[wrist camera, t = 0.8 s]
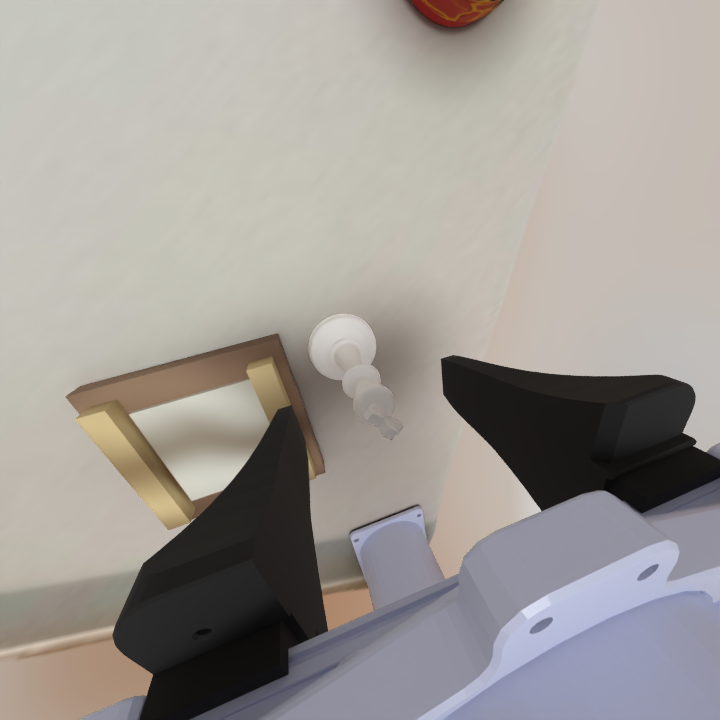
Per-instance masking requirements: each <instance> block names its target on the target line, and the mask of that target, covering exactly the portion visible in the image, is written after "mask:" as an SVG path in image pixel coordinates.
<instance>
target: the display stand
mask: <svg viewBox="0 0 720 720" xmlns="http://www.w3.org/2000/svg"><path fill="white" fill-rule="evenodd" d="M66 398H67V399H68V401H69V402H70V403H71V404H72V405H73V407H74V408H75V409H76V410H77V411H78V413H79V414H80V415H79V416H78V417H77V418H76V419H75V420H76V422H77V423H78V424H79V425H80V426H81V427H82V429H83V430H84V431H85V432H86V433H87V435H88V436H89V437H90V438H91V439H92V440H93V442H94V443H95V444H96V445H97V446H98V448H99V449H100V450H101V451H102V452H103V453H104V455H105V456H106V457H107V458H108V459H109V460H110V462H111V463H112V464H113V465H114V466H115V468H116V469H117V470H118V471H119V472H120V473H121V475H122V476H123V477H124V478H125V479H126V481H127V482H128V483H129V484H130V485H131V486H132V488H133V489H134V490H135V491H136V492H137V493H138V495H139V496H140V497H141V498H142V499H143V501H144V502H145V503H146V504H147V505H148V506H149V508H150V509H151V510H152V511H153V512H154V514H155V515H156V516H157V517H158V518H159V519H160V521H161V522H162V523H163V524H164V525H165V526H166V528H167V529H168V530H170V529H173V528H176V527H179V526H182V525H184V524H187V523H190V522H191V520H192V519H194V518H197V517H198V516H199V515H200V514H201V513H202V512H203V511H204V510H205V509H206V508H207V507H208V506H209V505H210V504H211V503H212V502H213V501H214V500H215V499H216V498H217V497H218V495H219V494H220V493H221V492H222V491H223V490H224V489H225V488H226V487H227V486H228V485H229V483H230V482H231V481H232V480H233V479H234V477H235V476H236V475H237V474H238V472H239V471H240V470H241V469H242V467H243V466H244V465H245V463H246V462H247V461H248V459H249V458H250V456H251V455H252V453H253V452H254V450H255V449H256V447H257V445H258V444H259V442H260V441H261V439H262V437H263V435H264V434H265V432H266V430H267V428H268V426H269V425H270V423H271V421H272V419H273V417H274V415H275V413H276V412H277V410H278V409H281V408H284V407H287V406H290V405H292V407H293V410H294V413H295V415H296V418H297V420H298V423H299V426H300V428H301V431H302V433H303V436H304V439H305V443H306V448H307V455H308V462H309V480H312V479H314V478H316V475H319V474H322V473H325V467H324V461H323V458H322V456H321V453H320V450H319V447H318V444H317V442H316V439H315V436H314V433H313V430H312V428H311V425H310V422H309V419H308V416H307V414H306V411H305V408H304V405H303V402H302V400H301V397H300V394H299V391H298V389H297V386H296V383H295V380H294V377H293V375H292V372H291V369H290V366H289V363H288V361H287V358H286V355H285V352H284V349H283V347H282V344H281V341H280V338H279V335H278V334H274V335H270V336H266V337H263V338H259V339H255V340H252V341H248V342H244V343H240V344H237V345H233V346H229V347H225V348H222V349H218V350H214V351H211V352H207V353H203V354H199V355H196V356H192V357H188V358H184V359H181V360H177V361H173V362H170V363H166V364H162V365H158V366H155V367H151V368H147V369H144V370H140V371H136V372H132V373H129V374H125V375H121V376H117V377H114V378H110V379H106V380H103V381H99V382H95V383H91V384H88V385H84V386H80V387H79V388H77V389H76V390H74V391H73V392H71V393H70V394H68V395H67V396H66Z"/></svg>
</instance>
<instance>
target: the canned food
mask: <svg viewBox="0 0 720 720" xmlns="http://www.w3.org/2000/svg"><path fill="white" fill-rule="evenodd" d="M411 1H412V2H413V4H414V5H415V6H416V8H417V9H418V10H419V11H420V12H421V13H422V14H424V15H425V16H426V17H427V18H428V19H429V20H431V21H433V22H435V23H437V24H439V25H442V26H447V27H452V28H453V27H460V26H465V25H468V24H470V23H472V22H474V21H476V20H478V19H480V18H482V17H484V16H486V15H488V14H489V13H490V12H492V11H493V10H494V9H495V8H497V7H498V6H499V5H500V4H501V3H502V2H503V1H504V0H411Z"/></svg>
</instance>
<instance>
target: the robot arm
mask: <svg viewBox="0 0 720 720" xmlns="http://www.w3.org/2000/svg"><path fill="white" fill-rule="evenodd" d="M441 366H442V381H443V394H444V396H445V397H446V399H447V400H448V401H449V403H450V404H451V405H452V407H453V408H454V409H455V410H456V411H457V412H458V414H459V415H460V416H461V417H462V418H463V419H464V420H465V421H466V422H467V423H468V424H469V425H471V427H473V428H474V429H475V430H476V431H477V432H478V433H479V434H480V435H481V436H482V437H483V438H484V439H485V440H486V441H487V442H488V443H489V444H490V445H491V446H492V447H493V449H494V450H495V451H496V452H497V453H498V455H499V456H500V457H501V458H502V459H503V460H504V462H505V463H506V464H507V465H508V466H509V468H510V469H511V470H512V472H513V473H514V474H515V476H516V477H517V478H518V479H519V481H520V482H521V483H522V485H523V486H524V487H525V489H526V490H527V491H528V492H529V494H530V495H531V497H532V498H533V500H534V501H535V502H536V504H537V505H538V506H539V507H540V509H541V512H539V513H537V514H534V515H532V516H530V517H527V518H525V519H522V520H520V521H518V522H515V523H513V524H511V525H508V526H506V527H504V528H501V529H499V530H497V531H495V532H494V533H492V534H490V535H489V536H487V537H485V538H483V539H482V540H480V541H478V542H477V543H476V544H475V545H474V546H473V548H472V549H471V550H470V551H469V552H468V553H467V554H466V555H465V556H464V559H463V562H462V565H461V568H460V571H459V574H457V575H454V576H452V577H450V578H448V579H445V578H444V575H443V573H442V571H441V569H440V567H439V565H438V563H437V561H436V559H435V557H434V554H433V552H432V550H431V548H430V546H429V544H428V542H427V538H426V531H425V524H424V517H423V510H422V508H421V507H420V506H417V507H414V508H412V509H409V510H407V511H404V512H401V513H399V514H396V515H394V516H391V517H389V518H386V519H384V520H381V521H378V522H376V523H373V524H371V525H368V526H366V527H363V528H361V529H358V530H355V531H353V532H352V533H351V534H350V539H351V542H352V544H353V547H354V550H355V553H356V555H357V558H358V561H359V564H360V567H361V569H362V572H363V575H364V578H365V580H366V583H367V584H368V588H369V592H370V597H371V601H372V605H373V609H374V611H373V612H371V613H368V614H366V615H364V616H362V617H359V618H357V619H355V620H353V621H350V622H348V623H346V624H344V625H341V626H339V627H337V628H334V629H332V630H330V631H328V628H327V622H326V616H325V610H324V604H323V598H322V592H321V585H320V579H319V573H318V566H317V559H316V552H315V545H314V538H313V531H312V523H311V513H310V489H309V462H308V455H307V448H306V443H305V439H304V436H303V433H302V431H301V428H300V426H299V423H298V420H297V418H296V415H295V413H294V410H293V407H292V405H290V406H287V407H284V408H281V409H278V410H277V412H276V413H275V415H274V417H273V419H272V421H271V423H270V425H269V426H268V428H267V430H266V432H265V434H264V435H263V437H262V439H261V441H260V442H259V444H258V445H257V447H256V449H255V450H254V452H253V453H252V455H251V456H250V458H249V459H248V461H247V462H246V463H245V465H244V466H243V467H242V469H241V470H240V471H239V472H238V474H237V475H236V476H235V477H234V479H233V480H232V481H231V482H230V483H229V485H228V486H227V487H226V488H225V489H224V490H223V491H222V492H221V493H220V494H219V495H218V497H217V498H216V499H215V500H214V501H213V502H212V503H211V504H210V505H209V506H208V507H207V508H206V509H205V510H204V511H203V512H202V513H201V514H200V515H199V516H198V517H197V518H196V519H195V520H194V521H193V522H192V523H190V524H189V525H188V526H187V527H186V528H185V529H184V530H183V531H182V532H181V533H179V534H178V535H177V536H176V537H175V538H174V539H172V540H171V541H170V542H169V543H168V544H166V545H165V546H164V547H163V548H162V549H160V550H159V551H158V552H157V553H156V554H154V555H153V556H152V557H151V558H150V559H148V560H147V561H146V562H145V563H143V565H142V567H141V569H140V572H139V574H138V576H137V578H136V580H135V582H134V585H133V587H132V589H131V591H130V594H129V596H128V598H127V600H126V603H125V605H124V607H123V609H122V612H121V614H120V616H119V618H118V621H117V623H116V625H115V628H114V632H113V639H114V643H115V645H116V647H117V648H118V649H119V650H120V651H121V652H122V653H123V654H124V655H125V656H127V657H128V658H130V659H131V660H132V661H134V662H136V663H137V664H138V665H140V666H142V667H143V668H145V669H146V670H148V671H149V672H150V673H152V674H153V678H152V681H151V684H150V687H149V690H148V694H147V696H134V697H130V698H127V699H124V700H122V701H120V702H117V703H115V704H113V705H110V706H108V707H106V708H103V709H101V710H99V711H96V712H94V713H92V714H89V715H87V716H85V717H82V718H80V719H78V720H720V443H719V444H716V445H715V446H713V447H711V448H710V449H709V450H708V451H707V452H704V451H702V450H700V449H698V448H696V447H694V446H693V445H695V444H696V440H695V439H694V438H692V437H690V436H688V435H686V434H684V433H682V432H683V430H684V428H685V426H686V423H687V421H688V419H689V417H690V414H691V412H692V410H693V407H694V404H695V393H694V390H693V388H692V387H691V386H690V385H689V384H687V383H684V382H681V381H678V380H675V379H672V378H669V377H666V376H663V375H640V376H615V377H614V376H610V377H609V376H601V377H600V376H596V377H595V376H594V377H593V376H571V375H556V374H546V373H539V372H530V371H525V370H519V369H514V368H508V367H504V366H499V365H495V364H490V363H486V362H482V361H478V360H474V359H470V358H465V357H460V356H454V355H452V356H449V357H445V358H442V359H441Z"/></svg>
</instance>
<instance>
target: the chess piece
mask: <svg viewBox="0 0 720 720" xmlns="http://www.w3.org/2000/svg"><path fill="white" fill-rule="evenodd" d="M308 353H309V357H310V360H311V362H312V364H313V365H314V367H315V368H316V369H317V370H318V371H319V372H320V373H321V374H322V375H324V376H325V377H327V378H330V379H333V380H343V381H342V387H343V390H344V392H345V393H346V394H347V395H348V396H349V397H350V398H352V399H354V402H353V411H354V414H355V416H356V418H357V419H358V420H359V421H361V422H362V423H365V424H373V425H375V426H378V427H379V429H380V431H381V433H382V435H383V437H386V438H388V439H390V440H392V439H393V438H394V436H395V435H398V434H399V432H400V431H401V430H402V428H403V426H402V424H401V423H400V421H398V420H396V419H394V418H392V417H389V416H390V415H391V414H392V412H393V410H394V408H395V397H394V395H393V393H392V392H391V391H390V390H389V389H388V388H386V387H385V386H383V385H380V384H381V378H380V374H379V372H378V370H377V369H376V368H375V367H374V366H372V365H371V363H372V362H373V360H374V357H375V354H376V339H375V336H374V333H373V331H372V329H371V328H370V326H369V325H368V324H367V323H366V322H365V321H364V320H363V319H361V318H360V317H358V316H355V315H352V314H336V315H332V316H329V317H327V318H326V319H324V320H322V321H321V322H320V323H319V324H318V325H317V326H316V327H315V328H314V330H313V331H312V333H311V335H310V338H309V342H308Z"/></svg>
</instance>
